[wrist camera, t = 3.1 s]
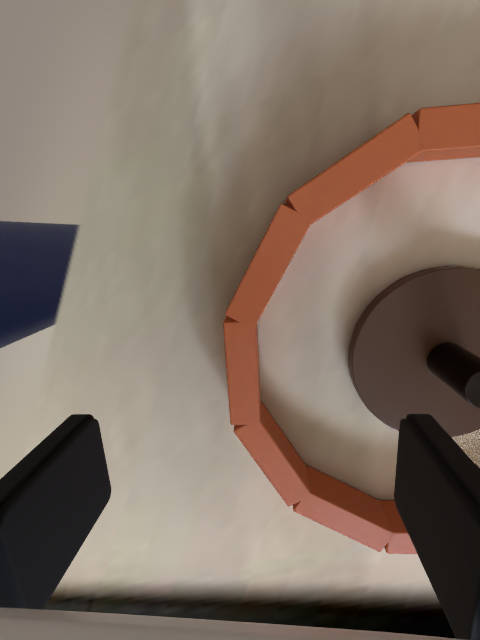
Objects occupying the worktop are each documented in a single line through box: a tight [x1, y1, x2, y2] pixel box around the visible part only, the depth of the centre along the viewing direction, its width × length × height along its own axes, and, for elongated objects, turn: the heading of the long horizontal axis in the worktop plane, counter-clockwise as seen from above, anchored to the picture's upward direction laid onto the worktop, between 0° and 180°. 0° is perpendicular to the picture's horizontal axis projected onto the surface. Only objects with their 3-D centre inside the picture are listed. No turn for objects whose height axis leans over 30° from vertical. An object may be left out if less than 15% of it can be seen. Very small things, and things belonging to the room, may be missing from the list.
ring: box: [223, 103, 480, 554], centre depth 16 cm, size 22×22×2 cm
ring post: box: [349, 266, 480, 437], centre depth 15 cm, size 9×9×4 cm
